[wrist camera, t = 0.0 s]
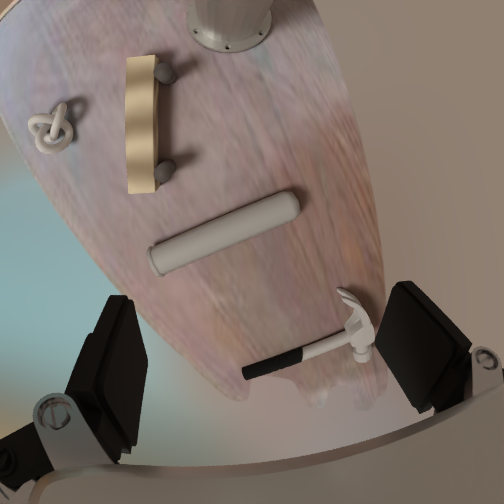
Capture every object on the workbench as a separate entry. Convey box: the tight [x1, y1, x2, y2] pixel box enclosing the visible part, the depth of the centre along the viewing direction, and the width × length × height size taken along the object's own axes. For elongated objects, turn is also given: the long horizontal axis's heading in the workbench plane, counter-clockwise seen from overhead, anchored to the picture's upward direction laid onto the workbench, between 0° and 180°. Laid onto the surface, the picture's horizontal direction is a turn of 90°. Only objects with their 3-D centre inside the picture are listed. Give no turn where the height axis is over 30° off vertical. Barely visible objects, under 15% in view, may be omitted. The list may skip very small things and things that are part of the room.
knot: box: [28, 103, 73, 154], centre depth 33 cm, size 8×8×6 cm
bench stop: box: [125, 55, 177, 194], centre depth 35 cm, size 20×7×6 cm, turn 178°
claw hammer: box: [242, 287, 375, 380], centre depth 59 cm, size 6×22×30 cm
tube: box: [146, 191, 300, 277], centre depth 45 cm, size 5×5×25 cm
